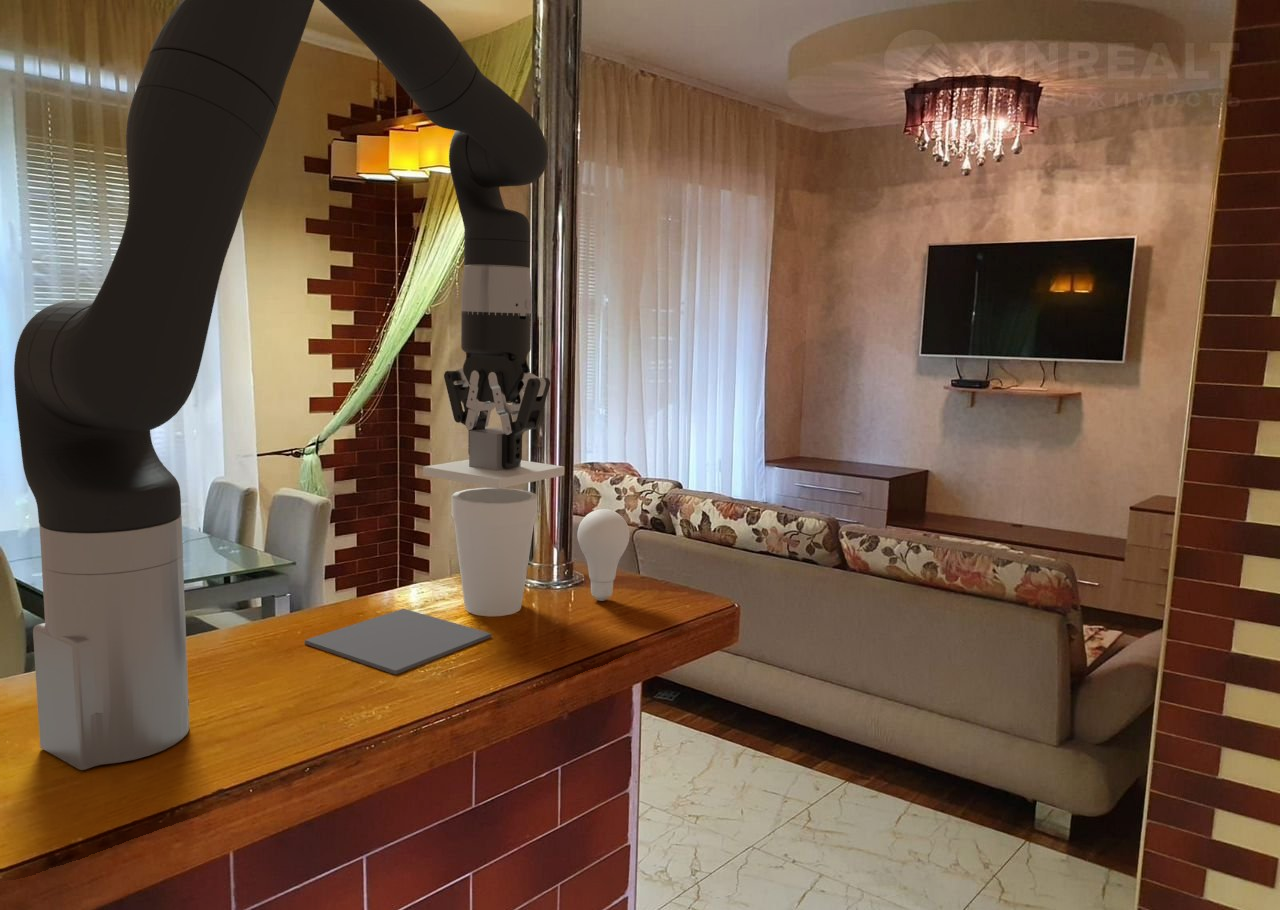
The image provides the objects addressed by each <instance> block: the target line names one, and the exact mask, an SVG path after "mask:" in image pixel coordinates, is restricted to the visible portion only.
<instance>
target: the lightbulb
mask: <svg viewBox="0 0 1280 910" xmlns="http://www.w3.org/2000/svg"><path fill="white" fill-rule="evenodd" d="M576 535H577V541H578V542H577V543H578V545H579V547H580V550H581V552H582V553H583V555H584V557H585V560H586V563H587V568H588V577H589V579H590V594H591V595H592V597H593V598H595V599H596V600H597V601H599V602H603V601H606V600H607V599H609V598H611V597H612V596H613V592H614V591H613V590H614V580H616V576H617V575H616V574H617V569H618V564H619V563H620V560H621V557H622V556H623V555H624V553H625V551H626V549H627V547H628V545H629V541H630V538H631V537H630V528H629V525H628V523H627V521H626V519H625V518H624V517H623V516H622V515H621V514H619V512H616V511H615V510H613V509H608V508H599V509H595V510H593V511H591V512H589V513H588V514H586V515H585V516H584V517H583V518H582V520H581V522H580V523H579V525H578V528H577V534H576Z"/></svg>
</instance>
